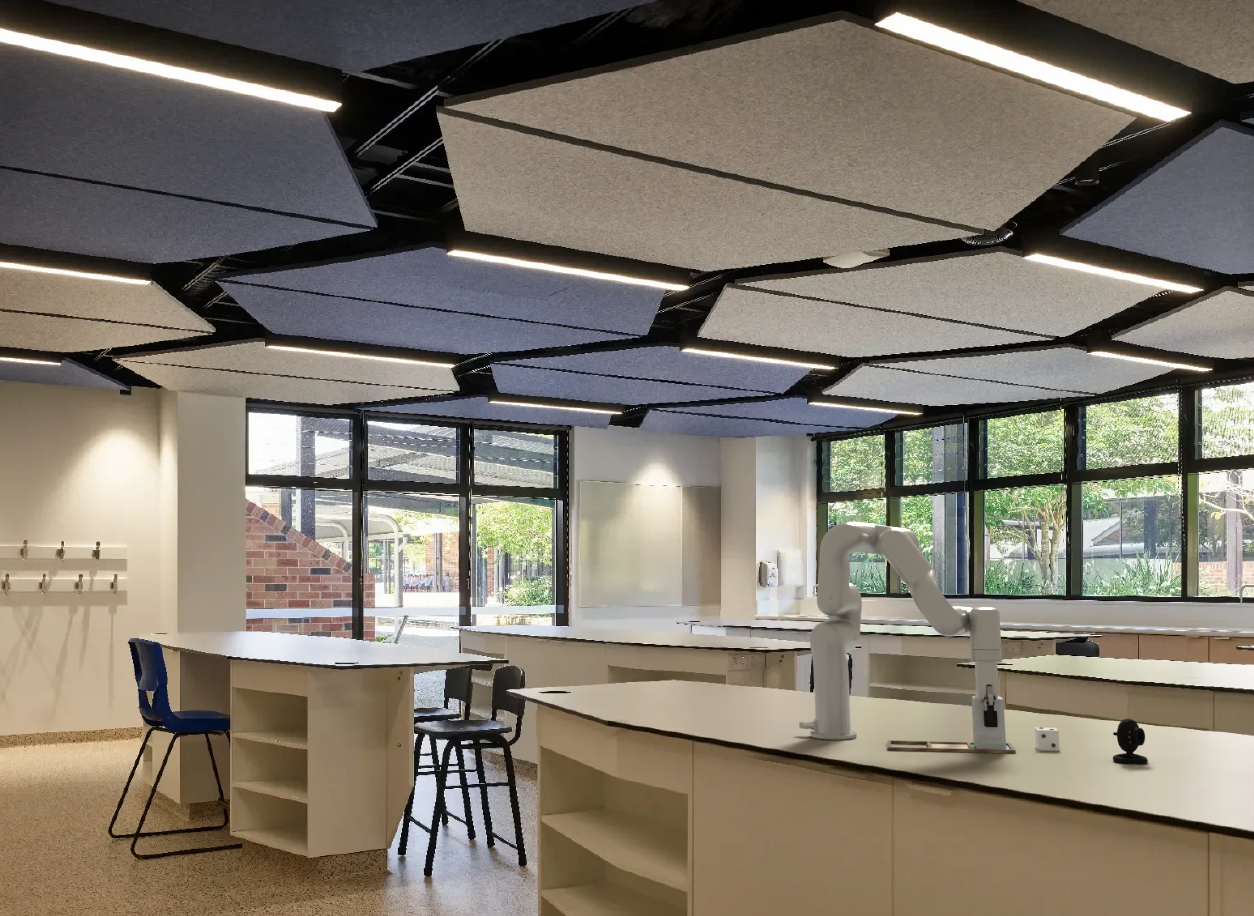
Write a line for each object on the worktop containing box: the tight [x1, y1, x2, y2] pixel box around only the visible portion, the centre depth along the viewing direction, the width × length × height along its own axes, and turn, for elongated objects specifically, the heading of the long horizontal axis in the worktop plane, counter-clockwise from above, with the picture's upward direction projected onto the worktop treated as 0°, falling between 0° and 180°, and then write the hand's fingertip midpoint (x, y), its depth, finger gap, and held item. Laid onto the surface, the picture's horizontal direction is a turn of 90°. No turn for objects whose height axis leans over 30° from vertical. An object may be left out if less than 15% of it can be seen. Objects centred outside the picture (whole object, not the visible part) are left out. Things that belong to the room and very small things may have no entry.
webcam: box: [1112, 718, 1149, 766], centre depth 255 cm, size 8×8×10 cm
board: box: [887, 739, 1017, 755], centre depth 277 cm, size 31×12×1 cm, turn 77°
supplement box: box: [971, 695, 1007, 750], centre depth 276 cm, size 7×7×13 cm
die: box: [1034, 726, 1061, 752], centre depth 275 cm, size 5×5×5 cm
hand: (989, 724), depth 276 cm, fingers open, 9 cm apart
